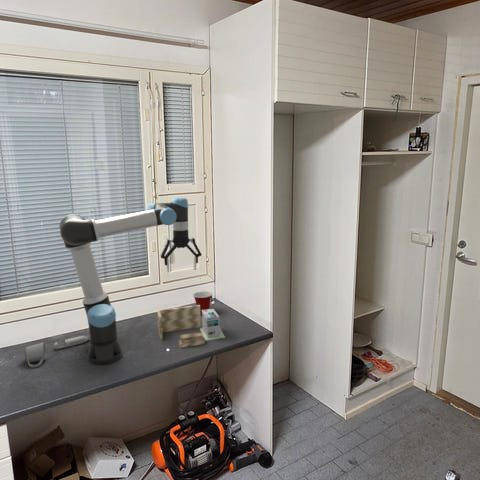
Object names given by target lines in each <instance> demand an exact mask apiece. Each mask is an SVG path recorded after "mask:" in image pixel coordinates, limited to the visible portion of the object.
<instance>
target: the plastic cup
mask: <svg viewBox="0 0 480 480" xmlns="http://www.w3.org/2000/svg"><path fill="white" fill-rule="evenodd" d="M192 295H193V299H194V300H195V301H194V302H195V305H200V316H202V310H208V309H211V307H210V306H211V299H212V296H213V292H212V291H205V290H204V291H198V292H195V293H193V294H192Z"/></svg>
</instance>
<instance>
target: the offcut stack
mask: <svg viewBox="0 0 480 480" xmlns="http://www.w3.org/2000/svg"><path fill="white" fill-rule="evenodd" d="M205 344H206V341H205V339H204V336H203V334H202V333H201V332H196V333H195V332H194V333H186V334H180V335H179V340H178V345H179V348H186V347H194V346H199V345H205Z"/></svg>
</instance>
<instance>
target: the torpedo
mask: <svg viewBox="0 0 480 480" xmlns="http://www.w3.org/2000/svg"><path fill="white" fill-rule="evenodd" d="M89 341H90V334H89V335H80V336H76V337H71V338H66V339H64V341H63V342H62V343H58V342H57V341H56V342H54V343H53V348H54V350H61V349H66V348H69V347H73V346H77V345H82V344H85V343H87V342H89Z"/></svg>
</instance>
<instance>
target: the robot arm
mask: <svg viewBox="0 0 480 480" xmlns="http://www.w3.org/2000/svg"><path fill="white" fill-rule="evenodd" d="M146 209H147V210H144V211H139V212H134V213H127V214H124V215H117V216H113V217H112V216H111V217H108V218H103V219H97V220H96V219H93V218H90V219H86V218H85V217H83V216H82V215H80V214H77V213H71V214H68V215H66V216H64V217H63V218H62V219H61V221H60V223H59V232H60V234H59V235H60V237H61V239H62V240H63V244H64V246H65V249H67V250H69V251H70V253H71V254H70V255H71V257H72V260H73V264H74V266H75V270H76V273H77V276H78V279H79V282H80V286H81V290H82V292H83V293H82V294H83V296H84V298H83V300H82V304H83V307H84V311H85V314H86V318H87V324H88V330H89V331H88V332H89V335H90V340H89V342H90V344H89V349H88V352H87V361H88V363H90V364H92V365H95V366H106V365H109V364H110V365H111V364H113V363H116V362H117V361H119V360H120V359H121V358H122V357H123V347H122V346H121V344H120V342H119V340H118V331H117V319H116V317H117V316H116V315H117V314H116V311H115V308H114V307H113V306H112V304H111V301H110V297H109V295H108V293H107V292H105V291H104V290H103V286H102V283H101V279H100V275H99V272H98V269H97V265H96V262H95V259H94V255H93V251H92V248H91V244H92V243H94V242H98V241H99V239H100V238H101V239H102V238H106V237H110V236H114V235H119V234H124V233H129V232H133V231H134V232H135V231H138V230H143V229H144V230H145V229H148V228H151V227H157V226H162V225H165V226H171V225H172V229H173V230H172V239H169V238H167V239H166V244H165V246H164V248H163V250H162V252H161V254H160V258H161V259H163V260H164V266H166V272H167V273H170V260H169V259H170V258H169V257H170V256H171V255H172V253H174V251H175V250H176V249H181V248H183V249H184V248H186V249H187V250H189V251H190V252H191V253H192V255H194V256H193V270H194V271H197V264H198V263H199V257H201V256H202V253H201V251H200V249H199V247H198V245H197V243H196V239H195V237H191V238H189V202H188V199H187V198H186V197H174V198H172V200H171V202H159V203H158V202H154V203H149V204H147V208H146ZM172 243H173V245H172V247H170V245H171V244H172ZM189 243H191V244H192V245H193V246H194V249H195V250H196V252H197V253H196V252H195V250H194V249H193V248H192V247H191V246H190V245H189ZM169 247H170V249H169ZM168 249H169V250H168Z"/></svg>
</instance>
